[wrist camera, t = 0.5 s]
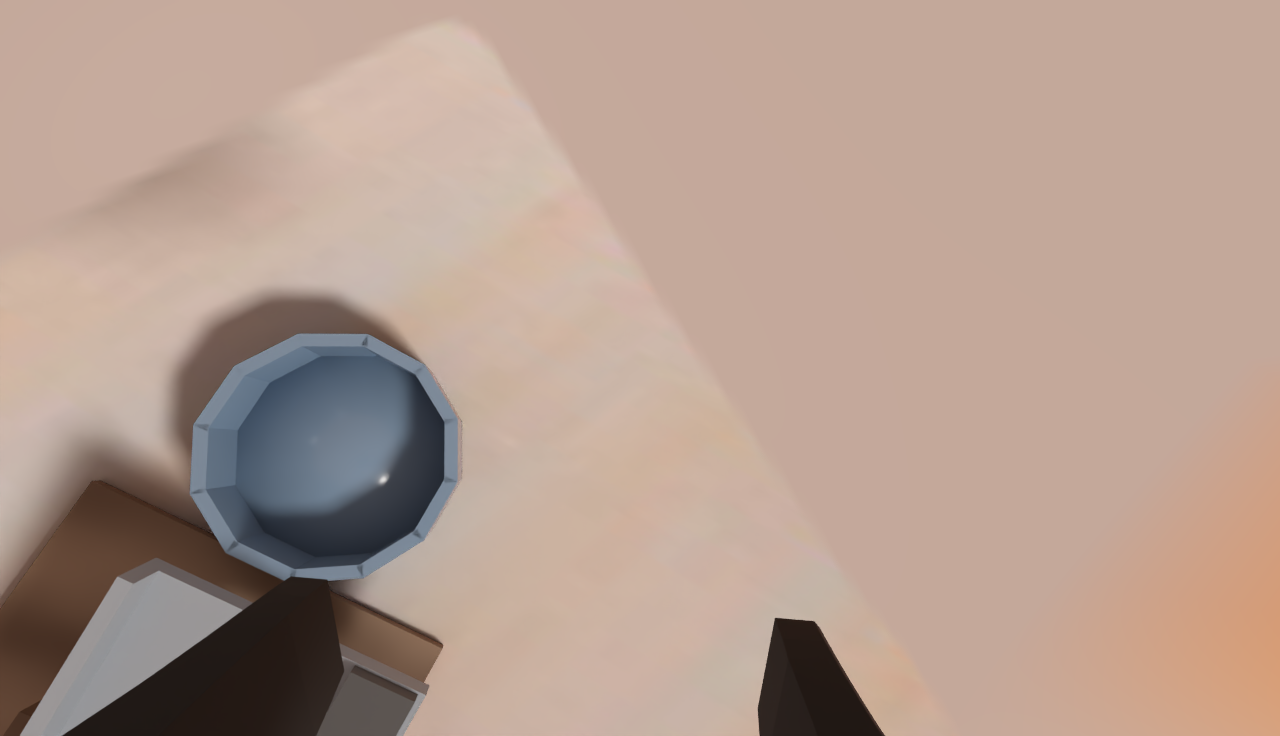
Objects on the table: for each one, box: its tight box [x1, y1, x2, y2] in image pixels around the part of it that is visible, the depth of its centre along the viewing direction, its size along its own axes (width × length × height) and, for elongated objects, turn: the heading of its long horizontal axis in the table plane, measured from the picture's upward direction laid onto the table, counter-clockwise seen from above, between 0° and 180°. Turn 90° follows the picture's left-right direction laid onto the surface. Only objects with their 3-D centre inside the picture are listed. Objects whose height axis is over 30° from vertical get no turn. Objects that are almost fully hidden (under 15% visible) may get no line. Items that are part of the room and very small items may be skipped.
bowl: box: [190, 334, 462, 581], centre depth 30 cm, size 11×11×4 cm
